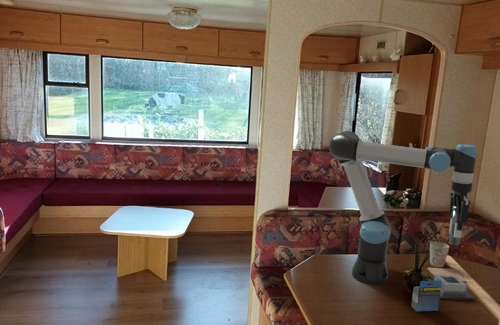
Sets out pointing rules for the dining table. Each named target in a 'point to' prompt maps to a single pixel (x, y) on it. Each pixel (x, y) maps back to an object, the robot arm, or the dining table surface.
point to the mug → (438, 253)
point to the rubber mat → (445, 272)
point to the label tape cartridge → (426, 296)
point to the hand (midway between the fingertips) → (454, 235)
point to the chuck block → (452, 288)
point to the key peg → (453, 239)
